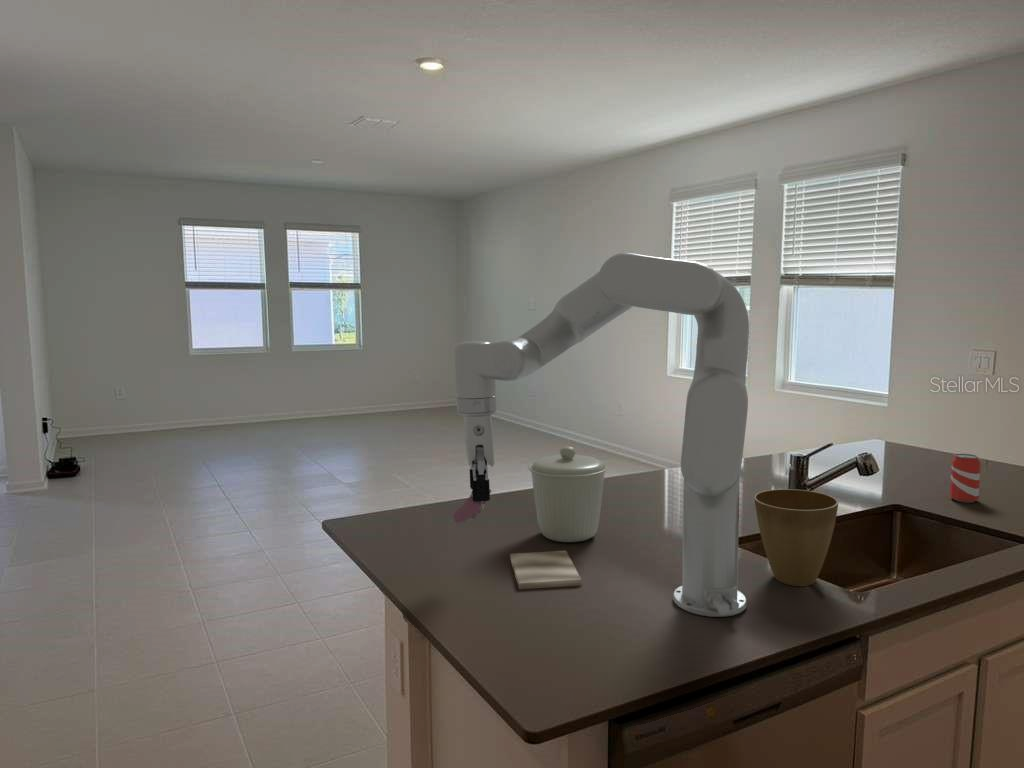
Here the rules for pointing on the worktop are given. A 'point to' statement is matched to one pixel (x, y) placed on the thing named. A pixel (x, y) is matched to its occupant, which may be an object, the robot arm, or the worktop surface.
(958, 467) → the beverage can
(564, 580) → the birch board
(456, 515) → the video game controller
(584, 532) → the canister
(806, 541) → the plant pot
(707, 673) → the worktop surface
